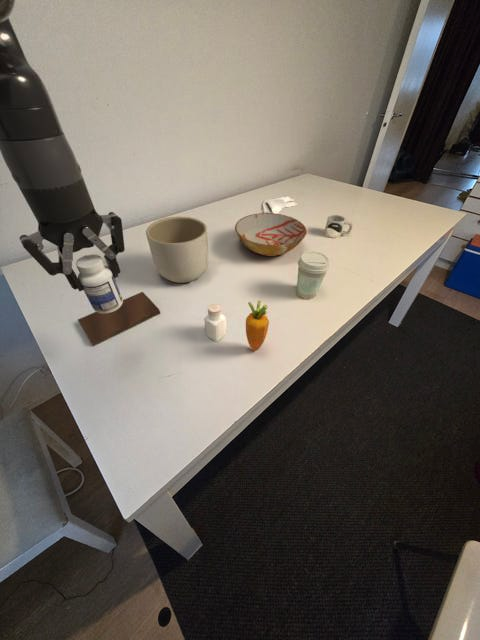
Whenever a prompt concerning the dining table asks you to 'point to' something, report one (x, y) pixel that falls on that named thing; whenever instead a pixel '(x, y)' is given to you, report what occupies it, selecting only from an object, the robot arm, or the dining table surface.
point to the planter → (179, 248)
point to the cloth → (277, 204)
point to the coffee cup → (311, 273)
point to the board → (118, 318)
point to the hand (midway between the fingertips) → (97, 281)
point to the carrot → (256, 326)
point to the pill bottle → (99, 284)
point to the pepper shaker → (215, 322)
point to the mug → (336, 226)
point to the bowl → (270, 233)
